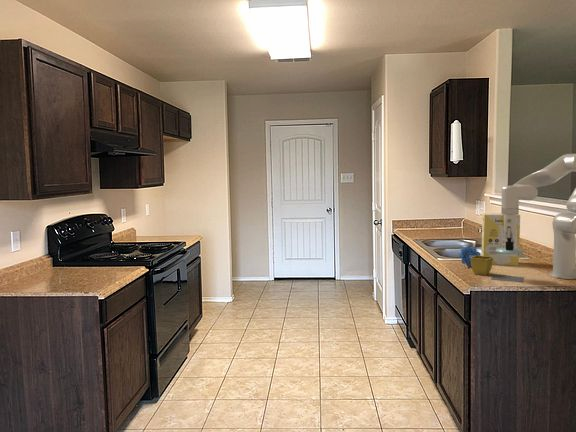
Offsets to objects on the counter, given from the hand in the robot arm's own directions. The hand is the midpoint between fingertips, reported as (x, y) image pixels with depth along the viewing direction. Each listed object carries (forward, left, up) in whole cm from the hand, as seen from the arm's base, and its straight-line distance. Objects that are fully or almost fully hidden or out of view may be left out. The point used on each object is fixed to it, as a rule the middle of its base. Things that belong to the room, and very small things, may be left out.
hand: (509, 249), depth 230 cm
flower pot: (+13, -6, -15) cm, 21 cm away
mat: (0, 0, -15) cm, 15 cm away
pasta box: (+7, -42, -15) cm, 45 cm away
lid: (0, 0, -2) cm, 2 cm away
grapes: (+20, -22, -15) cm, 33 cm away
